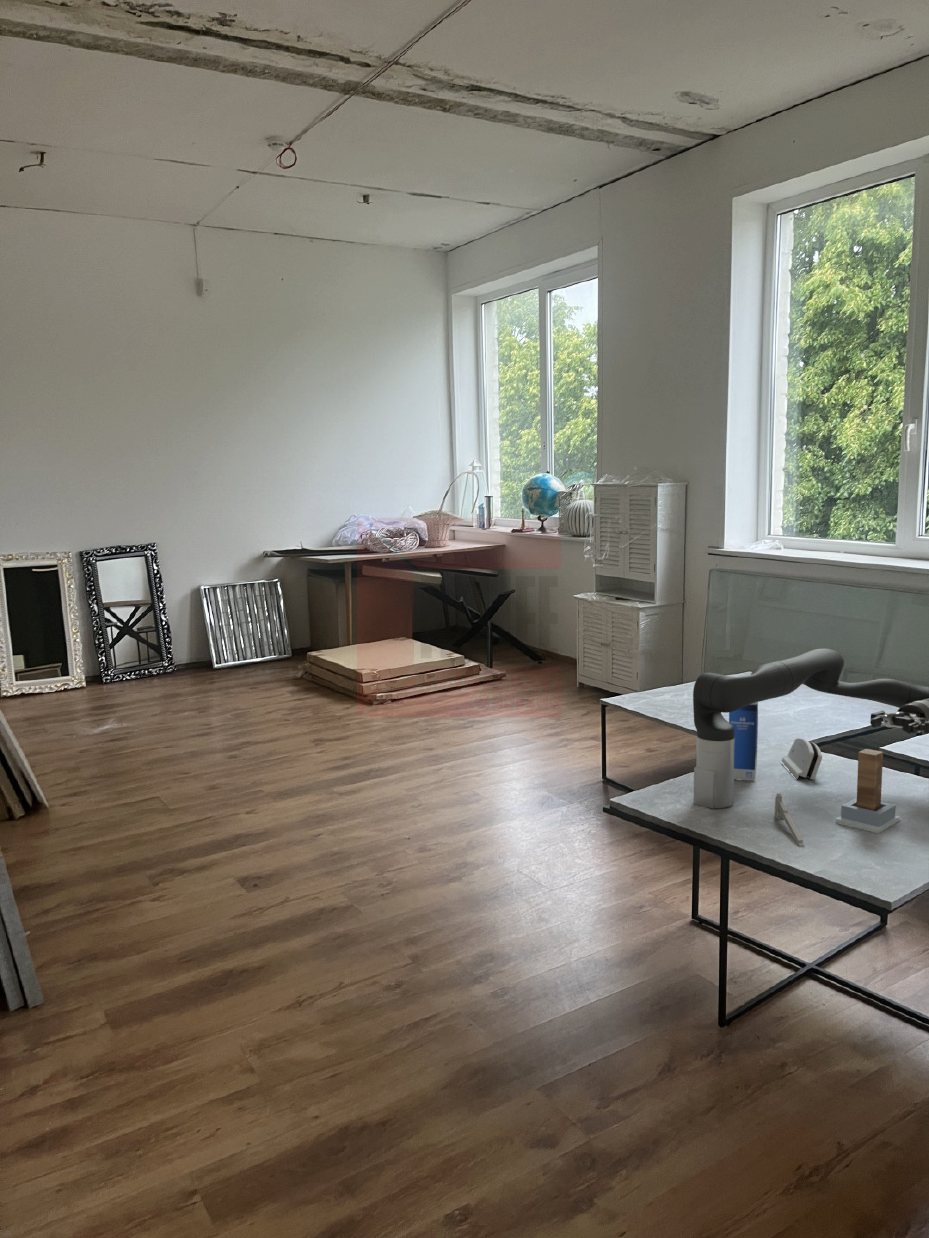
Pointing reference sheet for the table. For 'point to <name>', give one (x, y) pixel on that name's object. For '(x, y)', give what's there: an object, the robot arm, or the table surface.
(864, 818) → the base
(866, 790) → the walnut rail
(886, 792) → the table surface
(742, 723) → the string lights box
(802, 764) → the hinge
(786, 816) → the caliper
